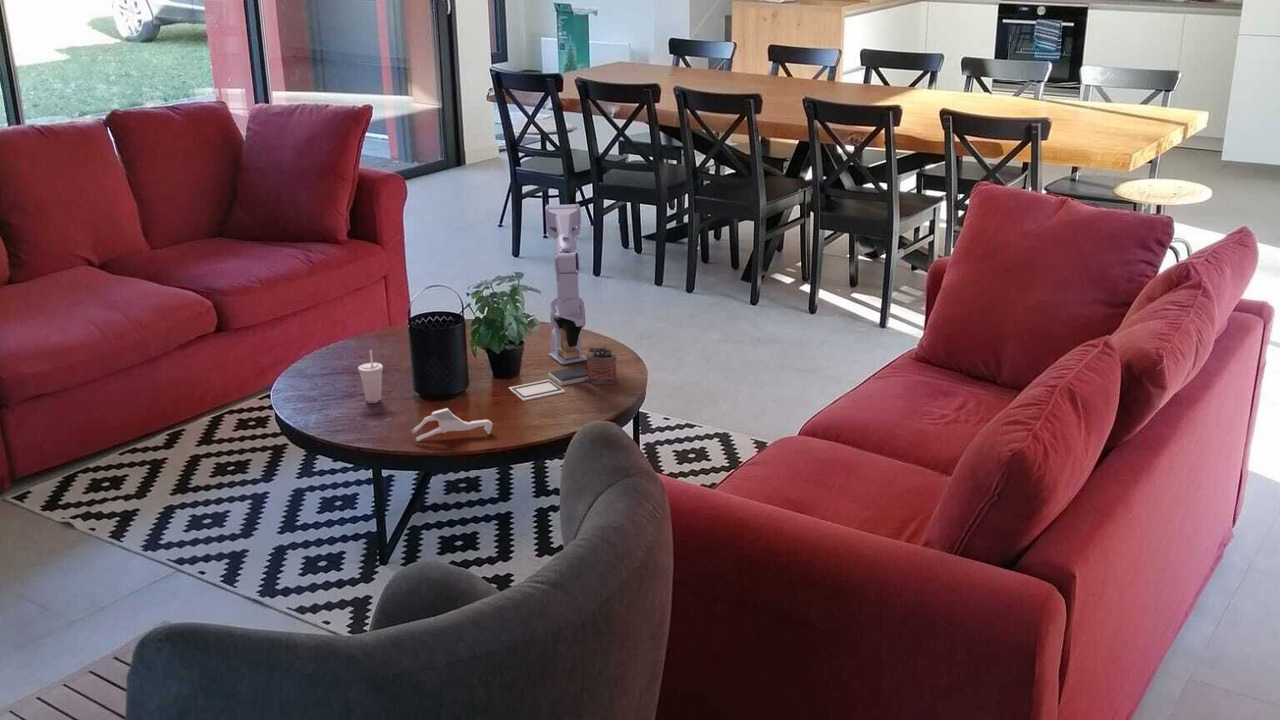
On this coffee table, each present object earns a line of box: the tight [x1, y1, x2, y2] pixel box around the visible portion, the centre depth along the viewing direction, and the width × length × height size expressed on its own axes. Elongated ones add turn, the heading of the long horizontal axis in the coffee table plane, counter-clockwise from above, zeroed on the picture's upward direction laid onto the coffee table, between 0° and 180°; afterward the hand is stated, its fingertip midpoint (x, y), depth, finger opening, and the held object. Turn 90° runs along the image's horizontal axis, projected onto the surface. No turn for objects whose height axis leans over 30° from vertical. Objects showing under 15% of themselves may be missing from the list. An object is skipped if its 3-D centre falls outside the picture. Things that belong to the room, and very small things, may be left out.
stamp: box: [558, 327, 579, 361], centre depth 333 cm, size 5×4×8 cm
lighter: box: [586, 345, 618, 385], centre depth 332 cm, size 8×3×10 cm, turn 84°
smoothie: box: [357, 349, 384, 401], centre depth 321 cm, size 6×6×14 cm
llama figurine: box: [410, 407, 493, 442], centre depth 300 cm, size 2×11×18 cm
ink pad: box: [547, 365, 588, 387], centre depth 337 cm, size 8×10×2 cm
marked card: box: [508, 378, 566, 402], centre depth 328 cm, size 10×12×1 cm
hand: (569, 344), depth 334 cm, fingers closed on stamp, 3 cm apart
